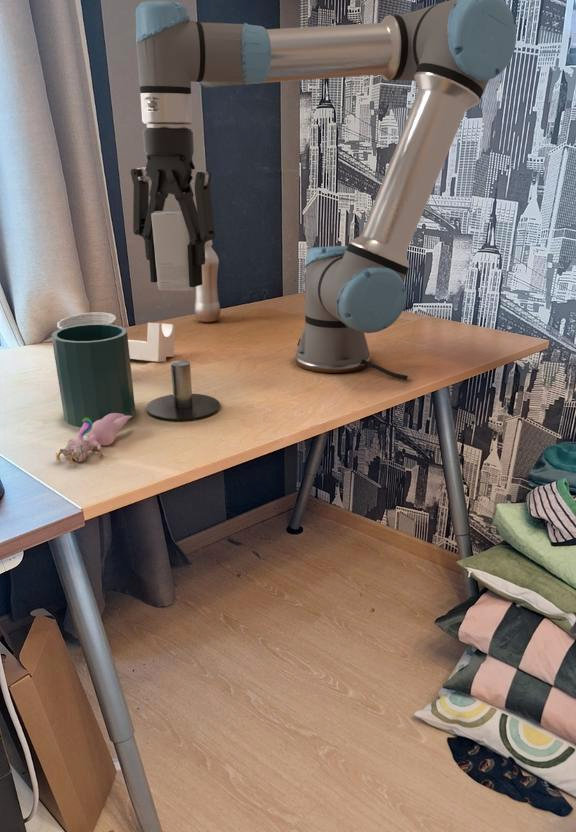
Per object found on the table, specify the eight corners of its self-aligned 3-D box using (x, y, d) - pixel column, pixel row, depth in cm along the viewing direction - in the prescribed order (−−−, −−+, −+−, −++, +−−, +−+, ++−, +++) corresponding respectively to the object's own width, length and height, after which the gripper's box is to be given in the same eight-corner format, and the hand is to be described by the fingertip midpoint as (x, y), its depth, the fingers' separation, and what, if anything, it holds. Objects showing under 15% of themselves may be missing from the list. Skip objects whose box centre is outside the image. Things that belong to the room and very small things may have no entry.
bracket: (173, 361, 153) (174, 324, 152) (157, 361, 147) (159, 323, 145) (119, 355, 157) (120, 319, 155) (101, 355, 150) (102, 318, 149)
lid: (233, 406, 127) (232, 358, 123) (194, 430, 117) (190, 378, 113) (174, 395, 132) (170, 348, 128) (131, 417, 122) (126, 367, 118)
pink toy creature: (83, 477, 104) (145, 428, 114) (73, 442, 101) (138, 394, 111) (51, 469, 107) (114, 421, 117) (40, 434, 103) (106, 388, 113)
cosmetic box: (197, 287, 122) (193, 210, 116) (193, 292, 118) (190, 213, 112) (160, 286, 122) (155, 209, 116) (156, 291, 118) (150, 212, 112)
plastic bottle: (207, 316, 184) (203, 233, 175) (226, 321, 181) (223, 236, 171) (189, 321, 180) (183, 236, 170) (208, 325, 176) (204, 239, 167)
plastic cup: (54, 381, 138) (44, 318, 133) (102, 369, 145) (94, 309, 140) (86, 394, 132) (77, 329, 126) (134, 380, 139) (128, 318, 133)
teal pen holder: (149, 412, 124) (141, 328, 117) (105, 436, 114) (93, 346, 108) (96, 402, 128) (86, 320, 121) (50, 424, 119) (35, 336, 112)
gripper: (99, 125, 110) (114, 280, 121) (209, 127, 102) (215, 293, 113) (130, 125, 116) (142, 273, 126) (237, 127, 108) (239, 285, 119)
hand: (176, 283), depth 120 cm, fingers closed on cosmetic box, 7 cm apart
